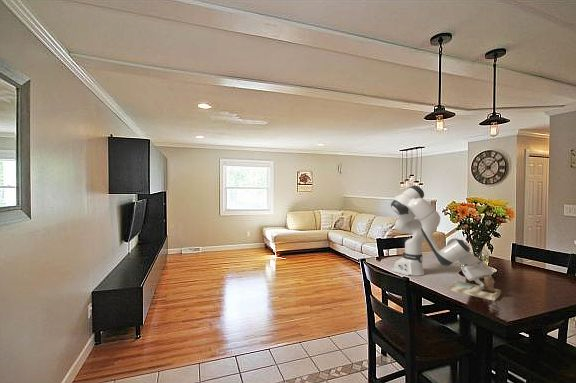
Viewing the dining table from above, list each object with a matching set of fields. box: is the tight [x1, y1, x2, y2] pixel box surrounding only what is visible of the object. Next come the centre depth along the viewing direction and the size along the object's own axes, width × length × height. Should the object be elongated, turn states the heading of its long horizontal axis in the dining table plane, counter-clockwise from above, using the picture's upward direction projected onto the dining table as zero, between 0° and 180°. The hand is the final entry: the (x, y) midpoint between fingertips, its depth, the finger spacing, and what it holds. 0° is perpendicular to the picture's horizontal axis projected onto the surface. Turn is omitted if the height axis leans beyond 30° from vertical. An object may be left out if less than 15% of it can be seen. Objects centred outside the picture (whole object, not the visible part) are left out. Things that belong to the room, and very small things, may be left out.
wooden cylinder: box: [483, 276, 495, 294], centre depth 156 cm, size 4×4×10 cm
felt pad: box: [455, 281, 474, 289], centre depth 165 cm, size 8×8×1 cm
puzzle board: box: [448, 280, 502, 302], centre depth 161 cm, size 22×14×2 cm, turn 42°
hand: (488, 284), depth 156 cm, fingers open, 8 cm apart
